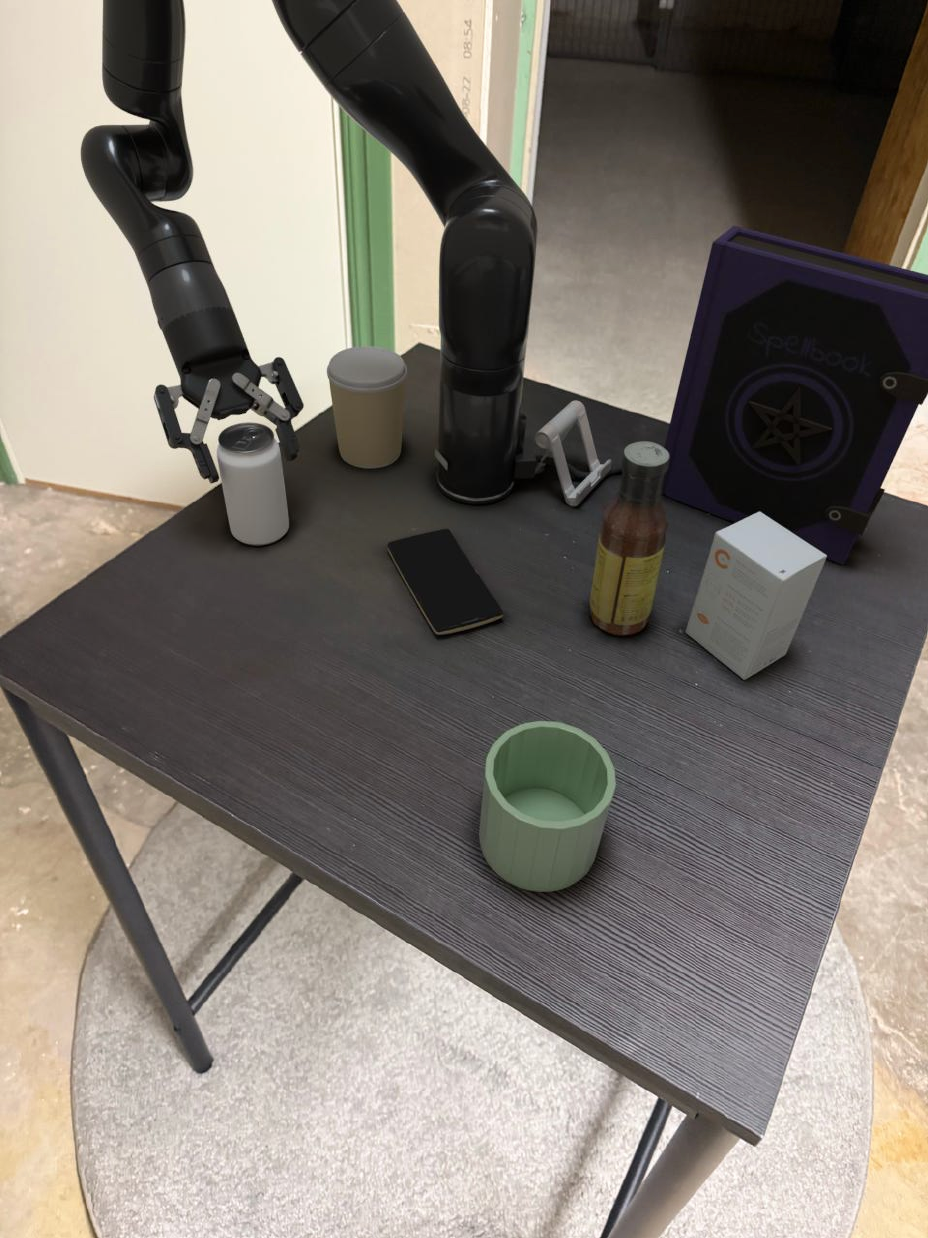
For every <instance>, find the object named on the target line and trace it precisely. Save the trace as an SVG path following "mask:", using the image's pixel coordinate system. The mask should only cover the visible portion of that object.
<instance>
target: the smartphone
mask: <svg viewBox="0 0 928 1238" xmlns="http://www.w3.org/2000/svg"><path fill="white" fill-rule="evenodd" d="M386 547H387V552H388V553H389V556H390V557H391V559H392V561H393V563H394V564H395V565H394V566H395V567H396V568H397V570H398V572H399V574H400V575H401V578H402V579H403V581H404V584H406V586H407V588H408V590H409V592H410V594H411V595H412V597H413V599H414V601H415V602H416V604H417V605H418V607H419V609H420V611H421V612H422V614H423V616H424V617H425V619H426V621H427V623H428V624H429V626H430V628H431V629H432V631H433V632H434V633H435V634H436V635H438V636H439V635H440V636H442V635H448V634H453V633H457V632H461V631H465V630H470V629H473V628H476V627H481V626H483V625H486V624H489V623H492V622H495V621H497V620H499V619H502V618H503V617H504V611H503V609H502V607H501V606H500V604H499V603H498V601H497V600H496V599H495V597H494V596H493V593H491V591H490V589H489V587H488V586H487V585H486V584H485V582H484V580H483V579H482V578H481V576H480V575H479V573H478V572H477V570H476V569H475V567H474V565H473V564H472V562H471V561H470V559H469V558H468V557H467V555H466V553H465V552H464V550H463V549H462V547H461V546H460V544H459V543H458V541H457V539H456V538H455V536H454V534H453V533H452V532H451V530H450V528H443V529H438V530H433V531H429V532H424V533H419V534H415V535H411V536H407V537H403V538H400V539H395V540H392V541H389V542H387V543H386Z"/></svg>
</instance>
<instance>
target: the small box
mask: <svg viewBox="0 0 928 1238" xmlns="http://www.w3.org/2000/svg"><path fill="white" fill-rule="evenodd" d="M826 557H827V555H826V554H824V553H822V552H821V551H819V550H818V549H816V548H815V547H813V546H812V545H810V544H809V543H807V542H806V541H804V540H803V539H801V538H799V537H798V536H796V535H795V534H793V533H792V532H790V531H789V530H787V529H786V528H784V527H783V526H781V525H780V524H778V523H777V522H775V521H774V520H772V519H771V518H769V517H767V516H766V515H765V514H763V513H762V512H757V513H755V514H753V515H751V516H749V517H747V518H745V519H743V520H741V521H739V522H737V523H733V524H731V525H729V526H726V527H724V528H722V529H720V530H716V531H715V533H714V537H713V540H712V544H711V546H710V551H709V553H708V556H707V560H706V563H705V566H704V570H703V573H702V575H701V579H700V582H699V586H698V589H697V592H696V595H695V599H694V603H693V605H692V608H691V611H690V616H689V619H688V622H687V626H686V629H685V634H686V635H688V636H689V637H690V638H691V639H693V640H694V641H695V642H697V643H698V644H699V645H700V646H701V647H703V648H704V649H705V650H706V651H708V652H709V653H710V654H711V655H712V656H713V657H715V658H716V659H717V660H719V661H720V662H721V663H722V664H724V665H725V666H726V667H727V668H728V669H729V670H731V671H732V672H733V673H735V674H736V675H737V676H738V677H739V678H741V679H742V680H744V681H746V680H747V679H749V678H750V677H751V678H752V676H754V675H755V674H757V673H758V672H760V671H763V669H765V668H767V667H768V666H770V665H771V664H773V663H775V662H777V661H778V660H780V659H781V658H783V657H784V656H786V655H787V653H788V651H789V648H790V646H791V643H792V641H793V638H794V636H795V634H796V632H797V629H798V627H799V625H800V623H801V620H802V617H803V615H804V612H805V610H806V607H807V605H808V603H809V601H810V599H811V597H812V594H813V591H814V589H815V588H816V587H815V586H816V584H817V581H818V579H819V576H820V574H821V573H822V569H823V567H824V565H825V562H826V560H827V559H826Z"/></svg>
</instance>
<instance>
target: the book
mask: <svg viewBox="0 0 928 1238" xmlns="http://www.w3.org/2000/svg"><path fill="white" fill-rule="evenodd" d="M695 311H696V312H695V315H694V320H693V324H692V328H691V332H690V337H689V340H688V345H687V349H686V353H685V357H684V361H683V367H682V370H681V375H680V379H679V383H678V387H677V392H676V394H675V395H676V396H675V400H674V405H673V408H672V413H671V417H670V421H669V425H668V428H667V433H666V438H665V442H664V446H663V448H665V449H666V450H667V451H668V453H669V455H670V459H669V467H668V470H667V472H666V473H665V475H664V480H663V486H662V495H665V496H666V497H667V498H670V499H672V500H675V501H677V502H679V503H682V504H685V505H688V506H690V507H693V508H695V509H698V510H700V511H703V512H705V513H707V514H710V515H713V516H715V517H719V518H721V519H723V520H726V521H729V522H731V523H733V524H735V523H737V522H739V521H741V520H743V519H745V518H747V517H749V516H751V515H753V514H755V513H757V512H762V513H763V514H765V515H766V516H767V517H769V518H771V519H772V520H774V521H775V522H777V523H778V524H780V525H781V526H783V527H784V528H786V529H787V530H789V531H790V532H792V533H793V534H795V535H796V536H798V537H799V538H801V539H803V540H804V541H806V542H807V543H809V544H810V545H812V546H813V547H815V548H816V549H818V550H819V551H821V552H822V553H824V554H826V555H827V557H826V560H829V561H831V562H834V563H836V564H838V565H842V566H844V565H845V563H846V561H847V559H848V556H849V554H850V552H851V550H852V548H853V547H854V546H853V545H856V543H857V540H858V539H859V536H863V534H864V532H865V530H866V528H867V526H868V525H869V523H870V521H871V519H872V517H873V515H874V514H875V511H876V510H877V508H878V506H879V504H880V503H881V499H882V498H883V495H884V493H885V491H886V489H885V488H882V486H883V484H884V481H885V479H886V478H887V475H888V473H889V471H890V469H891V466H892V464H893V463H894V460H895V457H896V455H897V454H898V451H899V450H900V447H901V445H902V442H903V440H904V438H905V437H906V433H907V432H908V429H909V427H910V425H911V422H912V420H913V418H914V417H915V414H916V412H917V410H918V408H919V406H922V405H923V404H924V402H925V400H926V398H927V397H928V274H927V273H923V272H918V271H914V270H911V269H907V268H903V267H898V266H895V265H891V264H887V263H884V262H883V263H882V262H879V261H875V260H871V259H868V258H863V257H860V256H855V255H852V254H848V253H843V252H839V251H836V250H832V249H828V248H824V247H821V246H816V245H812V244H808V243H805V242H800V241H797V240H793V239H789V238H786V237H785V238H784V237H781V236H777V235H773V234H769V233H765V232H762V231H758V230H754V229H750V228H743V227H741V226H738V225H732V226H731V227H729V229H727V230H726V231H725V232H724V233H722V235H719V237H717V238H716V239H715V240H713V241H712V244H711V247H710V252H709V256H708V261H707V265H706V269H705V273H704V277H703V280H702V285H701V289H700V293H699V298H698V302H697V306H696V310H695Z"/></svg>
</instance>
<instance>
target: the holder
mask: <svg viewBox="0 0 928 1238" xmlns="http://www.w3.org/2000/svg"><path fill="white" fill-rule="evenodd" d="M484 766H485V767H484V776H483V785H482V797H481V798H482V799H481V808H480V815H479V816H480V818H479V829H478V839H479V846H480V850H481V853H482V856H483V857H484V859H485V861H486V862H487V864H488V866H489V867H490V868H491V869H492V871H494V873H496V875H498V876H499V877H500V878H502V879H503V880H504V881H505V882H507V883H509V884H511V885H512V886H514V887H517V888H520V889H523V890H526V891H530V892H537V893H539V892H540V893H549V892H555V891H561V890H563V889H567V888H569V887H570V886H572V885H575V884H576V883H578V882H579V881H581V880H582V879H583V878H584V877H585V876H586V875H587V874H588V872H589V871H590V870H591V868H592V866H593V865H594V862H595V860H596V857H597V854H598V851H599V847H600V844H601V840H602V837H603V834H604V830H605V827H606V822H607V821H608V820H607V819H608V816H609V812H610V809H611V805H612V802H613V798H614V794H615V791H616V787H617V782H616V769H615V767H614V764H613V762H612V759H611V758H610V755H609V753H608V751H607V750H606V749H605V748H604V747H603V746H602V745H601V744H600V743H599V742H598V741H597V739H595V737H594V736H592V735H590V734H588V733H587V732H585V731H584V730H583V729H580V728H579V727H575V726H572V725H570V724H566V723H564V722H560V721H549V720H536V721H531V722H524V723H521V724H519V725H516V726H514V727H512V728H510V729H508V730H506V731H505V732H504V733H503V734H502V735H501V736H499V737H498V739H496V741H494V742H493V744H492V745H491V748H490V750H489V752H488V754H487V756H486V758H485V765H484Z"/></svg>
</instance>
